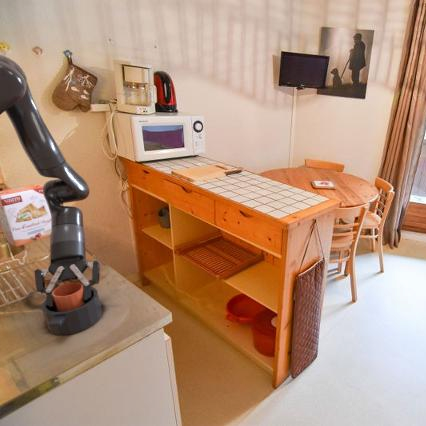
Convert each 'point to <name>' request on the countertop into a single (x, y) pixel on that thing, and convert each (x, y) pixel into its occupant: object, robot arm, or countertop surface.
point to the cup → (68, 296)
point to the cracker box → (24, 214)
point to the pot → (73, 316)
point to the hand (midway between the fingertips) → (69, 304)
